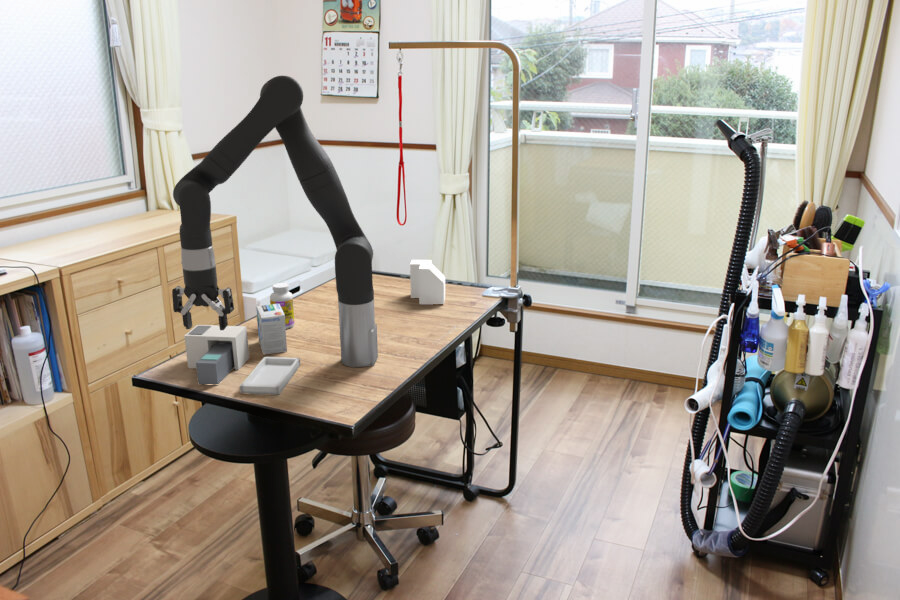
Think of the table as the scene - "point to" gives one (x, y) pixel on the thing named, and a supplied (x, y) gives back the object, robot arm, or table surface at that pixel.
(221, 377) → the slab with teal patch
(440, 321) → the table surface
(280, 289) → the supplement bottle
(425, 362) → the table surface
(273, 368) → the tray
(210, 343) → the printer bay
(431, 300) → the corner bracket
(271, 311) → the light bulb box
